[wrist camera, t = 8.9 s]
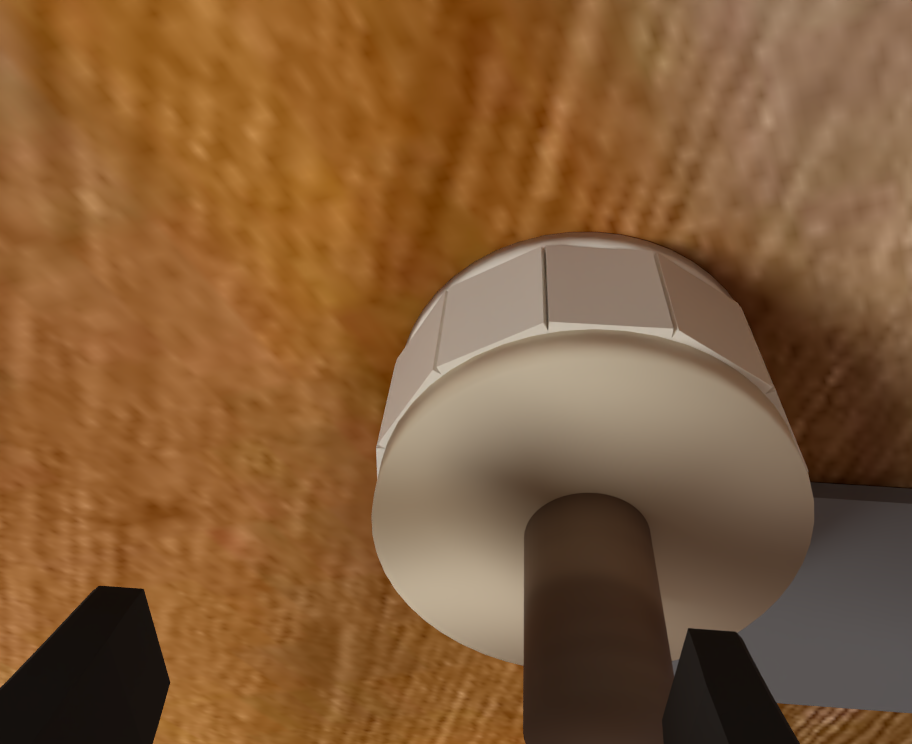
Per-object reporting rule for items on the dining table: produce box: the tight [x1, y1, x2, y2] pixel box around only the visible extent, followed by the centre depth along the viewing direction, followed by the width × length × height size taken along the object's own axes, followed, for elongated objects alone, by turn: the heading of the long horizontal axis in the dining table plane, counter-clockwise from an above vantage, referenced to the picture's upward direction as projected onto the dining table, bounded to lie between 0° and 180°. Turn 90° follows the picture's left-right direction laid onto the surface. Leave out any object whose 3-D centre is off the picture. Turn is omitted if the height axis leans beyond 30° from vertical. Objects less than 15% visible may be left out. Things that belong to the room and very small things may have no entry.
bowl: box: [376, 232, 809, 479], centre depth 20 cm, size 9×9×4 cm
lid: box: [372, 329, 814, 744], centre depth 16 cm, size 9×9×5 cm
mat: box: [672, 482, 912, 713], centre depth 25 cm, size 9×9×1 cm
